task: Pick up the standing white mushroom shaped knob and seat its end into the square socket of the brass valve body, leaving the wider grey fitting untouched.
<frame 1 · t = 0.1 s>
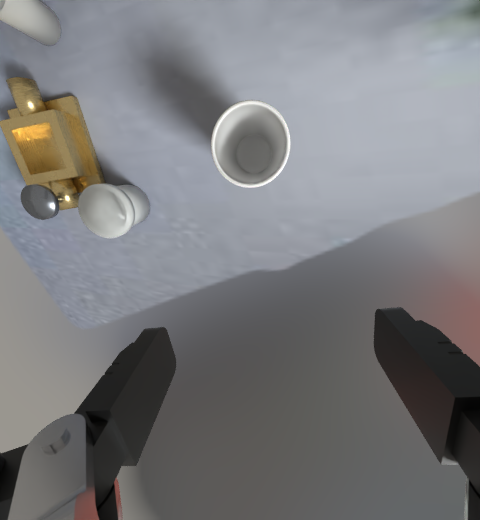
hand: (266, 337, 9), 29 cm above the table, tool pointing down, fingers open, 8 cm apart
white mushroom shaped knob: (45, 26, 30), on the table
drinking glass: (254, 155, 34), on the table
valve body: (62, 151, 36), on the table
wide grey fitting: (131, 204, 38), on the table
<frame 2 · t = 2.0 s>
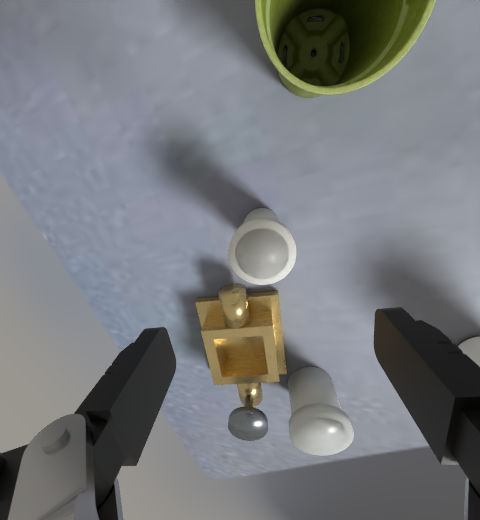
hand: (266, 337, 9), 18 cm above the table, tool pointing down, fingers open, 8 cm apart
white mushroom shaped knob: (261, 226, 26), on the table
drinking glass: (472, 350, 30), on the table
valve body: (243, 334, 31), on the table
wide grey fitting: (309, 383, 34), on the table
plant pot: (311, 58, 21), on the table
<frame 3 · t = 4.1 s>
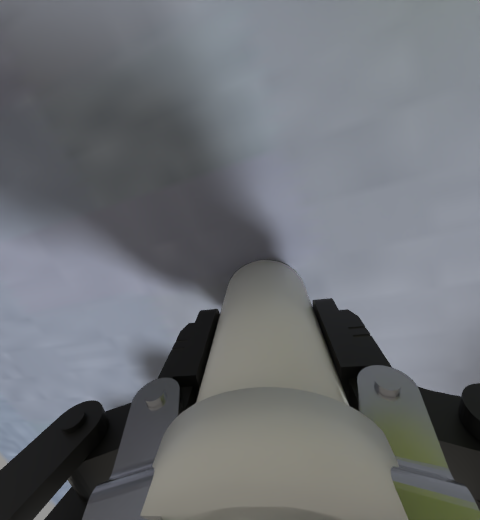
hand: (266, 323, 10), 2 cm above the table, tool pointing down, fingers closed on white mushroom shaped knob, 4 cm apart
white mushroom shaped knob: (265, 296, 12), on the table, touching gripper
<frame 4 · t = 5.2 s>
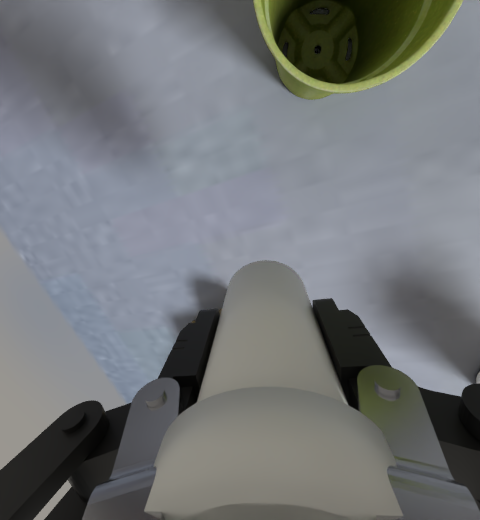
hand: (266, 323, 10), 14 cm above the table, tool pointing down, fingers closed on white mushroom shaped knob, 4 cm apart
white mushroom shaped knob: (265, 296, 12), point 12 cm above the table, touching gripper
plant pot: (315, 56, 18), on the table
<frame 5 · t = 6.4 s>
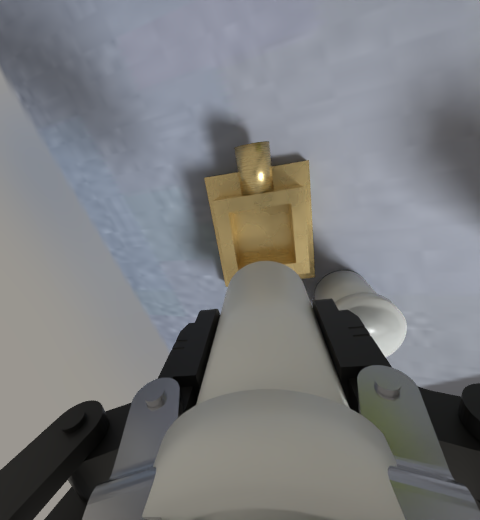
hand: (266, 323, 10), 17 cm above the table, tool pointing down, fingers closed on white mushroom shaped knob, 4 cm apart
white mushroom shaped knob: (265, 297, 12), point 15 cm above the table, touching gripper
valve body: (262, 228, 26), on the table
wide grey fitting: (340, 294, 28), on the table
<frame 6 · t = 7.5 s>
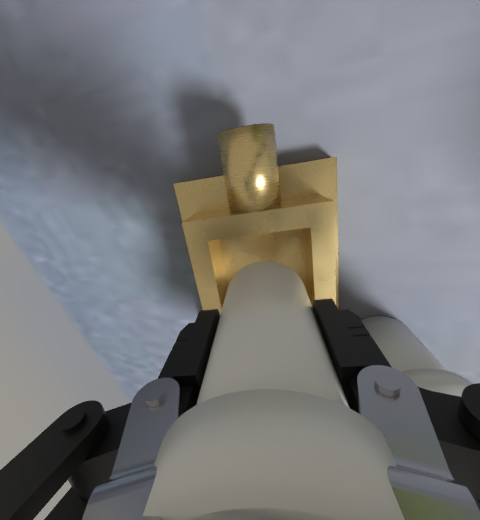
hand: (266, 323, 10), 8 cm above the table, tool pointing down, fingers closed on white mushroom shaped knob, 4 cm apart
white mushroom shaped knob: (265, 297, 12), point 6 cm above the table, touching gripper
valve body: (263, 256, 18), on the table
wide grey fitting: (373, 347, 20), on the table
when the fingers open (5 cm above the table, at t = 8.4 s): white mushroom shaped knob drops 2 cm, resting on valve body.
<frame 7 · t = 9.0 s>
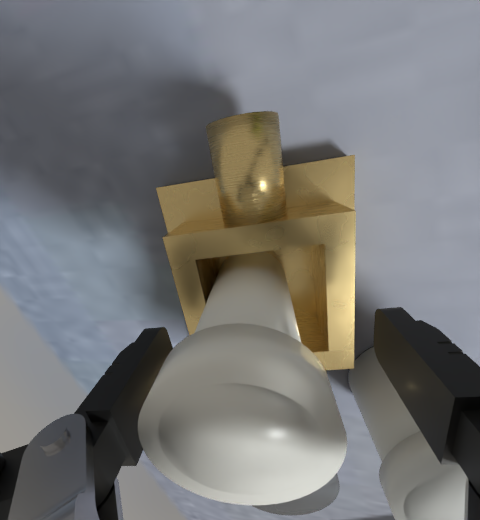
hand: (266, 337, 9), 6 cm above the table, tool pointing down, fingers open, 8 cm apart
white mushroom shaped knob: (251, 281, 14), point 1 cm above the table, touching valve body
valve body: (264, 273, 15), on the table
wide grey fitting: (392, 375, 17), on the table
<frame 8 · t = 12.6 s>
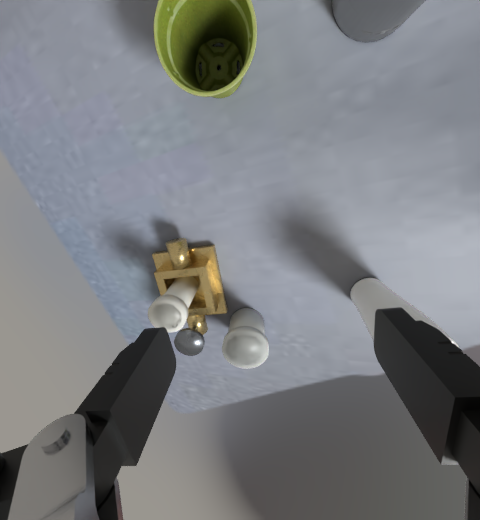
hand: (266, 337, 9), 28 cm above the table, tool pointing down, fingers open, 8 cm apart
white mushroom shaped knob: (186, 285, 40), point 1 cm above the table, touching valve body
drinking glass: (365, 290, 39), on the table
valve body: (192, 282, 41), on the table
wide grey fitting: (247, 322, 43), on the table
plant pot: (219, 71, 30), on the table
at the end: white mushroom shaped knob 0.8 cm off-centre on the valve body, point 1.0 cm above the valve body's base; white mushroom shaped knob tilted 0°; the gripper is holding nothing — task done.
